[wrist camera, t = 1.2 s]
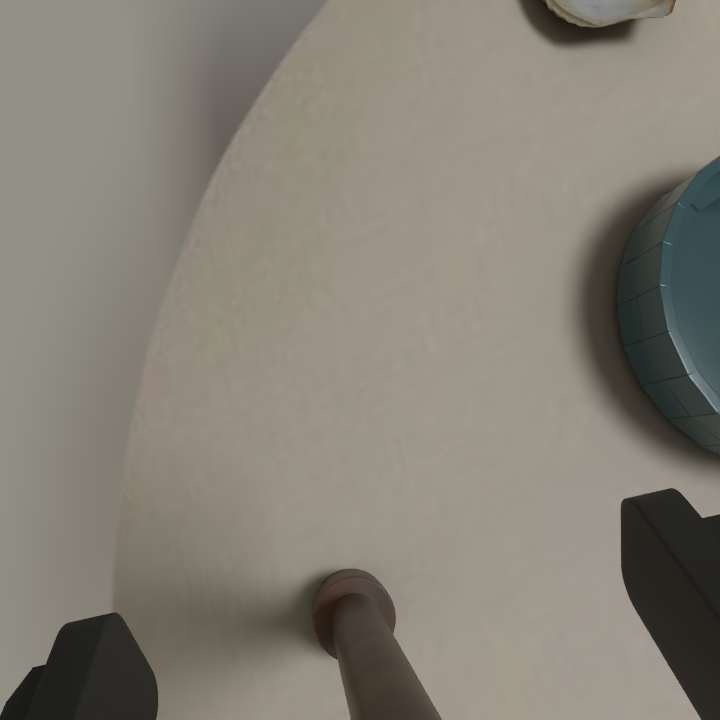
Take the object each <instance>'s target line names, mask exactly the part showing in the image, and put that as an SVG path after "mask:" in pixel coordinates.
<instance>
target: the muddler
mask: <svg viewBox="0 0 720 720" xmlns="http://www.w3.org/2000/svg"><path fill="white" fill-rule="evenodd" d="M312 615H313V623H314V630H315V634H316V637H317V639H318V641H319V643H320V645H321V646H322V647H323V649H324V650H325V651H326V652H327V653H328V654H329V655H331V656H332V657H334V658H336V659H338V663H339V668H340V672H341V677H342V681H343V686H344V690H345V695H346V699H347V704H348V708H349V713H350V717H351V720H442V719H441V717H440V715H439V714H438V712H437V710H436V708H435V707H434V705H433V703H432V702H431V700H430V698H429V696H428V695H427V693H426V691H425V689H424V688H423V686H422V684H421V682H420V681H419V679H418V677H417V675H416V674H415V672H414V670H413V668H412V667H411V665H410V663H409V661H408V660H407V658H406V656H405V654H404V653H403V651H402V649H401V647H400V646H399V644H398V642H397V640H396V639H395V637H394V635H393V632H394V628H395V620H396V617H395V609H394V605H393V602H392V600H391V598H390V596H389V594H388V593H387V591H386V590H385V589H384V587H383V586H382V584H381V583H380V582H379V581H378V580H377V579H376V578H375V577H374V576H372V575H371V574H369V573H367V572H365V571H362V570H357V569H346V570H341V571H339V572H336V573H334V574H332V575H331V576H329V577H328V578H327V579H326V580H325V581H324V582H323V583H322V584H321V585H320V587H319V588H318V590H317V592H316V594H315V597H314V601H313V607H312Z"/></svg>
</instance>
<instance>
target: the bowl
mask: <svg viewBox="0 0 720 720" xmlns="http://www.w3.org/2000/svg"><path fill="white" fill-rule="evenodd" d="M620 267H621V268H620V270H619V283H618V295H617V313H618V318H619V324H620V330H621V335H622V341H623V346H624V349H625V351H626V354H627V356H628V358H629V360H630V363H631V365H632V367H633V369H634V372H635V374H636V376H637V378H638V381H639V383H640V385H642V388H643V389H644V390H645V391H646V393H647V394H648V395H649V397H650V398H651V399H652V401H653V402H654V403H655V404H656V406H657V407H658V408H659V410H660V411H661V412H662V413H663V415H664V416H665V417H666V418H667V420H668V421H669V422H671V423H672V424H673V425H674V426H676V427H677V428H678V429H679V430H681V431H682V432H683V433H684V434H686V435H687V436H688V437H689V438H691V439H692V440H693V441H694V442H696V443H697V444H698V445H700V446H702V447H703V448H706V449H708V450H710V451H712V452H715V453H717V454H719V455H720V156H718V157H717V158H716V159H714V160H713V161H712V162H710V163H709V164H707V165H706V166H705V167H703V168H702V169H700V170H699V171H698V172H696V173H695V174H693V175H692V176H691V177H689V178H688V179H686V180H685V181H684V182H682V183H681V184H680V185H678V186H677V187H675V188H674V189H673V190H671V191H670V192H669V193H667V194H666V195H665V196H663V197H662V198H661V199H659V200H658V201H656V202H655V204H653V205H652V207H651V208H650V210H649V211H648V212H647V214H646V215H645V216H644V218H643V219H642V220H641V222H640V223H639V224H638V226H637V227H636V228H635V230H634V231H633V233H632V235H631V238H630V241H629V244H628V246H627V249H626V252H625V254H624V257H623V260H622V263H621V265H620Z"/></svg>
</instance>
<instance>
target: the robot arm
mask: <svg viewBox="0 0 720 720" xmlns="http://www.w3.org/2000/svg"><path fill="white" fill-rule="evenodd" d="M621 569H622V575H623V580H624V584H625V587H626V590H627V593H628V595H629V598H630V600H631V602H632V604H633V606H634V608H635V610H636V611H637V613H638V615H639V616H640V618H641V620H642V621H643V623H644V625H645V626H646V628H647V630H648V631H649V633H650V635H651V636H652V638H653V640H654V641H655V643H656V645H657V646H658V648H659V650H660V651H661V653H662V655H663V656H664V658H665V660H666V661H667V663H668V665H669V666H670V668H671V670H672V671H673V673H674V675H675V676H676V678H677V680H678V681H679V683H680V685H681V686H682V688H683V690H684V691H685V693H686V695H687V696H688V698H689V700H690V701H691V703H692V705H693V706H694V708H695V710H696V711H697V713H698V715H699V716H700V718H701V720H720V515H715V516H711V517H706V518H702V517H701V516H700V515H699V514H698V513H697V511H696V510H695V509H694V508H693V507H692V506H691V504H690V503H689V502H688V501H687V500H686V499H685V497H684V496H683V495H682V494H681V493H680V492H679V491H677V490H675V489H673V488H670V489H666V490H661V491H657V492H652V493H648V494H644V495H639V496H635V497H630V498H626V499H624V500H623V501H622V503H621ZM157 711H158V690H157V683H156V679H155V676H154V673H153V671H152V669H151V667H150V665H149V663H148V662H147V660H146V658H145V656H144V655H143V653H142V651H141V649H140V648H139V646H138V644H137V642H136V641H135V639H134V637H133V635H132V633H131V632H130V630H129V628H128V626H127V625H126V623H125V621H124V620H123V618H122V617H121V616H120V615H119V614H118V613H110V614H106V615H101V616H96V617H92V618H88V619H83V620H79V621H74V622H70V623H67V624H65V625H64V626H63V627H62V628H61V630H60V631H59V633H58V635H57V637H56V640H55V642H54V645H53V648H52V650H51V652H50V655H49V658H48V660H47V663H46V665H42V666H38V667H33V668H32V670H31V671H30V672H29V673H28V675H27V676H26V677H25V679H24V680H23V682H22V683H21V684H20V685H19V687H18V688H17V689H16V690H15V692H14V693H13V694H12V696H11V697H10V698H9V700H8V701H7V702H6V704H5V706H4V709H3V711H2V713H1V716H0V720H156V717H157Z"/></svg>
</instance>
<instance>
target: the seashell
mask: <svg viewBox="0 0 720 720" xmlns="http://www.w3.org/2000/svg"><path fill="white" fill-rule="evenodd" d="M543 1H545V3H546V7H547V8H548V9H549V10H551V11H554V12H555V14H556V15H557V16H558V17H560V18H564V19H565V20H566V21H567V22H569V23H573V24H577V25H578V26H581V27H592V28H598V27H604V26H609V25H614V24H617V23H621V22H624V21H627V20H630V19H646V18H661V17H664V16H667V15H669V14H670V13H671V12H672V11H673V8H674V5H675V2H676V0H543Z"/></svg>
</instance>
